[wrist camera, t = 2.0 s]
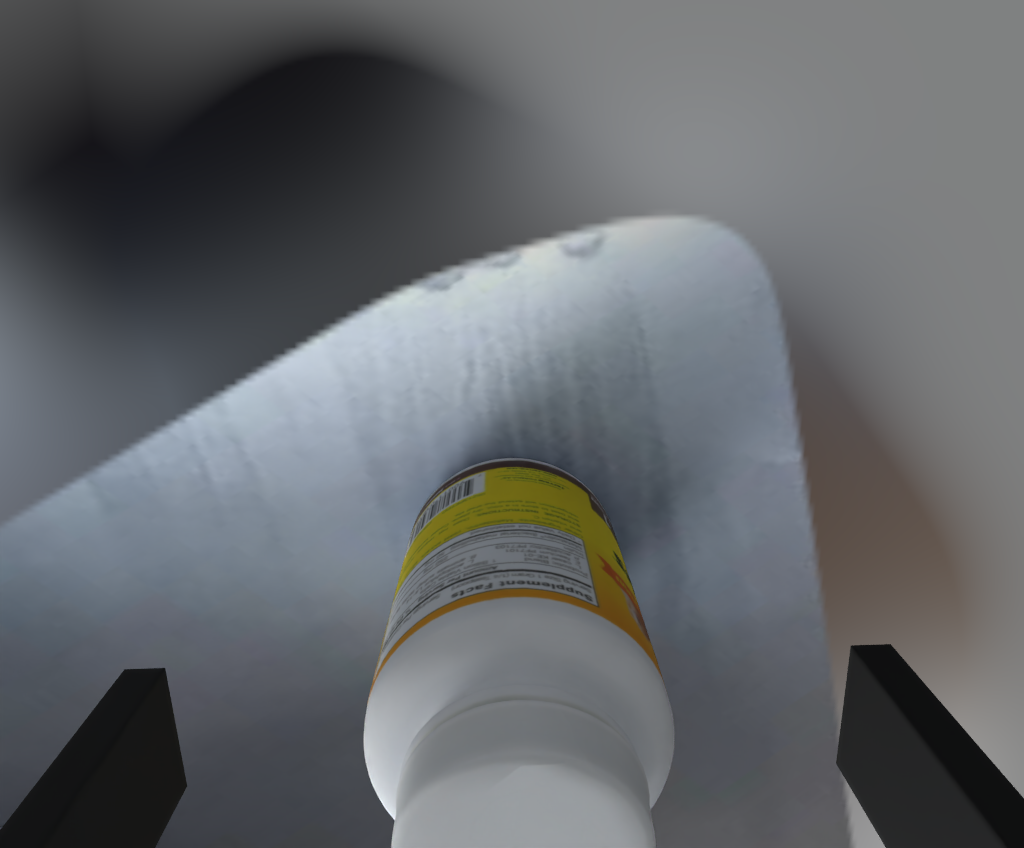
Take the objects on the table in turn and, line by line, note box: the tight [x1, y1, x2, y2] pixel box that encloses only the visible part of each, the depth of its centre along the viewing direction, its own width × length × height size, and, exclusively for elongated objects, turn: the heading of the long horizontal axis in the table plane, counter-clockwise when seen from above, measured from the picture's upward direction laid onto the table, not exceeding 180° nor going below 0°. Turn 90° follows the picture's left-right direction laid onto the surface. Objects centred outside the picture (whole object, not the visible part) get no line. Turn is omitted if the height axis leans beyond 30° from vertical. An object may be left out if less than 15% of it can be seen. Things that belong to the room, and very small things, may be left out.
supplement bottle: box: [364, 458, 675, 848], centre depth 16 cm, size 6×6×10 cm
